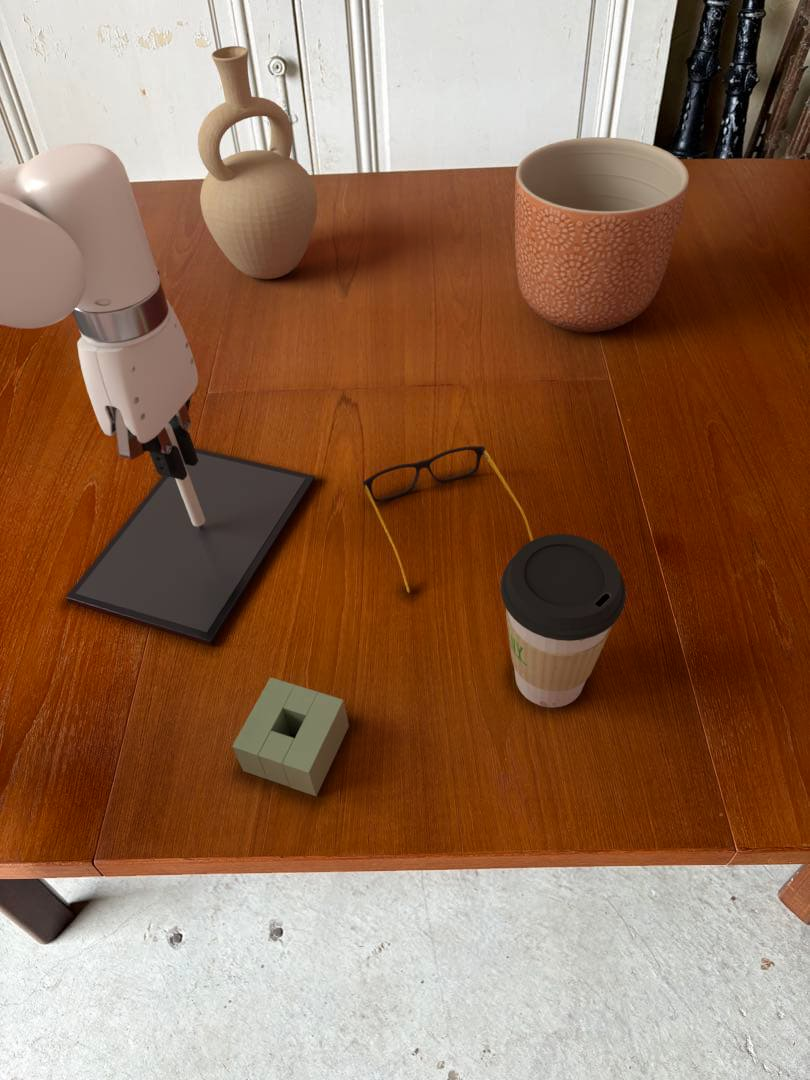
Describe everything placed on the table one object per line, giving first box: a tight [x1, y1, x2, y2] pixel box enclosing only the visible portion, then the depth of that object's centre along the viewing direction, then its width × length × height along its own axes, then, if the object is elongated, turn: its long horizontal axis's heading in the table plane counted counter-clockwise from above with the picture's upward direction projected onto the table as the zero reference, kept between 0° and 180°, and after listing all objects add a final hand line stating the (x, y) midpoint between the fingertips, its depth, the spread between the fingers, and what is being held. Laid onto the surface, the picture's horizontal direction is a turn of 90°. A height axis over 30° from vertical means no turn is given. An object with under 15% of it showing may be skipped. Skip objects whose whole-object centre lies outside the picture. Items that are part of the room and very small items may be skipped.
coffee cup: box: [499, 533, 627, 709], centre depth 69 cm, size 10×10×15 cm
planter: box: [514, 136, 690, 333], centre depth 107 cm, size 21×21×19 cm
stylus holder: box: [231, 677, 350, 797], centre depth 69 cm, size 7×7×4 cm
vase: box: [197, 45, 318, 280], centre depth 114 cm, size 17×17×30 cm
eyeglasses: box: [362, 445, 534, 593], centre depth 86 cm, size 14×14×4 cm
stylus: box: [165, 423, 205, 529], centre depth 83 cm, size 1×1×14 cm
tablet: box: [65, 447, 317, 647], centre depth 88 cm, size 17×24×1 cm
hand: (178, 467), depth 81 cm, fingers closed on stylus, 1 cm apart
